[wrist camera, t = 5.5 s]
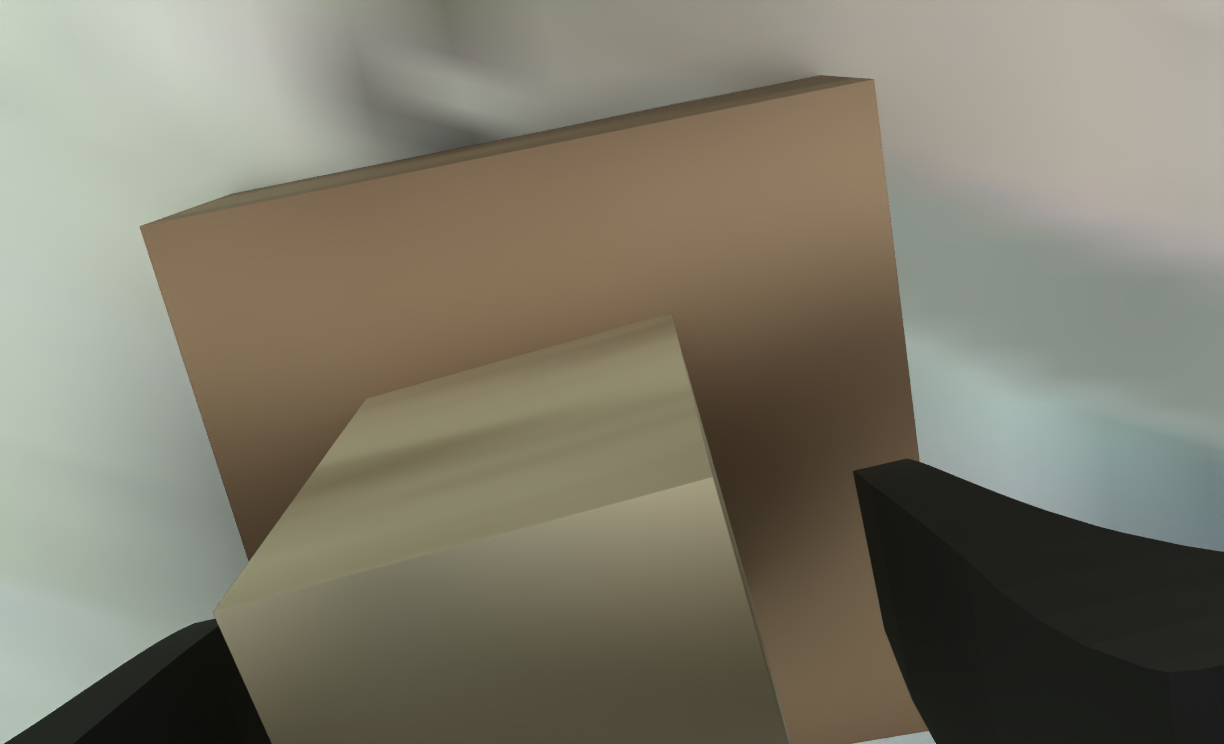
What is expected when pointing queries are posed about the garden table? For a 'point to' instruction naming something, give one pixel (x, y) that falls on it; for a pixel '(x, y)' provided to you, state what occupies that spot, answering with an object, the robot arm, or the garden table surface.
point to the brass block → (512, 567)
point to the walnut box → (597, 329)
